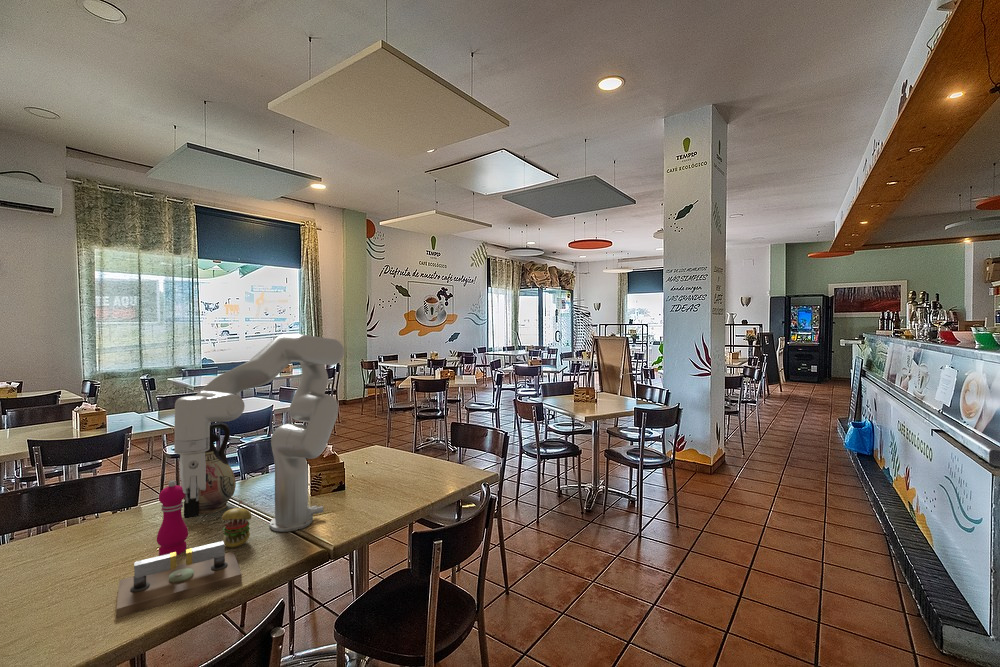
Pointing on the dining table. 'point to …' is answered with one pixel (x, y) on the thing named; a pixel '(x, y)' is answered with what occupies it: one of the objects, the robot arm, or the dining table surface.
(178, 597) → the level plate
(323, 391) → the robot arm
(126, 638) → the dining table surface
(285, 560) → the dining table surface
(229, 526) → the hamburger
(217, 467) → the ceramic jug
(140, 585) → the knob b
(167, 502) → the pepper mill
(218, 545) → the gold-tipped grey bar
